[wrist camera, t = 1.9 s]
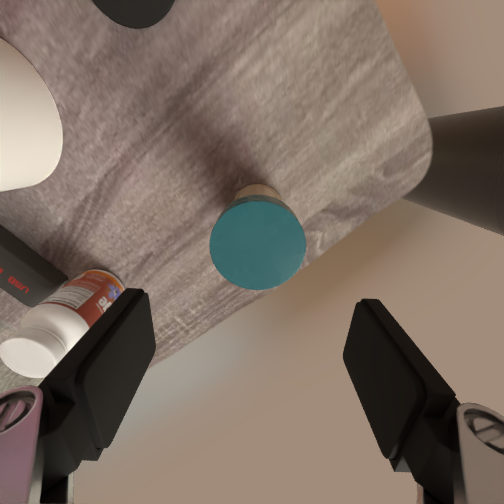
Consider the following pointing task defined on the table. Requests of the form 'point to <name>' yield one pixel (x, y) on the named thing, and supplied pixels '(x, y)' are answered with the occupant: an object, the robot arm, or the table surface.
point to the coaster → (135, 11)
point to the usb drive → (26, 271)
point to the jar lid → (257, 242)
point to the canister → (26, 123)
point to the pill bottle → (59, 323)
